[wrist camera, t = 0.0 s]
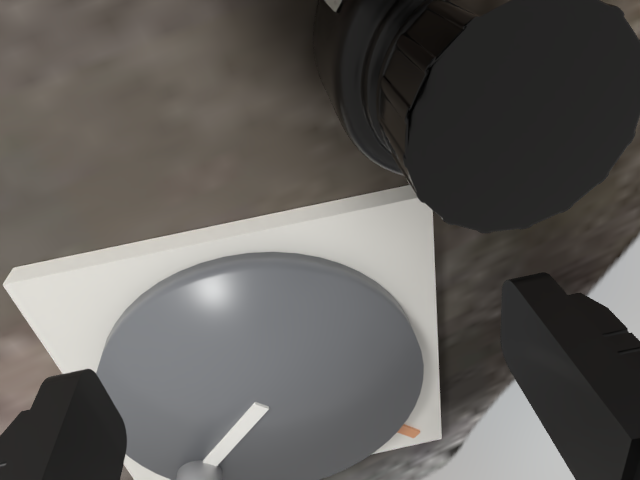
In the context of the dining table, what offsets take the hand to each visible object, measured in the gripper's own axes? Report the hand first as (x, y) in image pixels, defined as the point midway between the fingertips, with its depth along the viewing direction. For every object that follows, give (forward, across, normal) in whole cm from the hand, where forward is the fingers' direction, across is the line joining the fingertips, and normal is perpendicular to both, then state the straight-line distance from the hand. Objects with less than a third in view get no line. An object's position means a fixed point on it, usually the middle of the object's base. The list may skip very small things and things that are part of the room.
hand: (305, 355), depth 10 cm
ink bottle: (+17, -7, -2) cm, 19 cm away
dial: (+16, +4, +17) cm, 24 cm away
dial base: (+18, +4, +17) cm, 25 cm away
